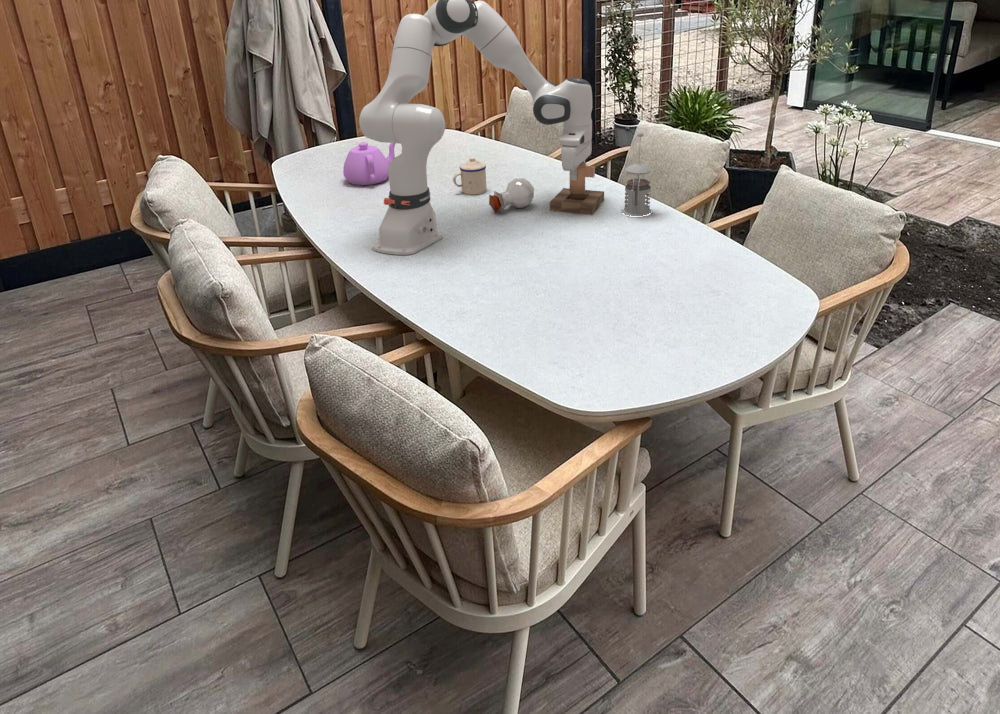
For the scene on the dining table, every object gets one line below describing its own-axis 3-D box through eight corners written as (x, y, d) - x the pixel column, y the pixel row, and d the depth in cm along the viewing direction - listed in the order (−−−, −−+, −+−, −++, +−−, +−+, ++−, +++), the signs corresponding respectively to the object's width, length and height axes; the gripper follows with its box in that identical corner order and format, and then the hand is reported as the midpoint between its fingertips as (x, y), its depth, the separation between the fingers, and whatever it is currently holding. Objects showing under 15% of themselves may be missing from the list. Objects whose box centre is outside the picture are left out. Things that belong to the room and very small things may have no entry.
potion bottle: (536, 208, 252) (498, 223, 247) (521, 186, 255) (483, 200, 249) (543, 190, 244) (504, 206, 239) (527, 168, 247) (488, 183, 241)
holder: (592, 214, 241) (592, 205, 239) (549, 210, 245) (549, 201, 244) (604, 200, 252) (604, 191, 250) (563, 196, 256) (563, 188, 255)
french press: (654, 207, 244) (658, 128, 231) (650, 220, 234) (654, 138, 221) (623, 206, 246) (626, 127, 233) (618, 218, 236) (620, 137, 224)
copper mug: (566, 193, 245) (566, 165, 240) (571, 188, 249) (571, 160, 245) (591, 195, 242) (591, 167, 237) (596, 190, 246) (596, 162, 242)
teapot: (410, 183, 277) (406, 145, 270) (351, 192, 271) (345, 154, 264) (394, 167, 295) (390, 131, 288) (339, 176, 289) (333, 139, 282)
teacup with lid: (481, 185, 271) (479, 152, 265) (491, 192, 264) (489, 159, 258) (449, 191, 267) (447, 158, 261) (459, 198, 260) (456, 164, 254)
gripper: (577, 124, 246) (577, 166, 253) (557, 141, 230) (558, 185, 237) (596, 125, 244) (596, 168, 251) (577, 142, 228) (577, 187, 235)
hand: (577, 176), depth 244 cm, fingers closed on copper mug, 5 cm apart
